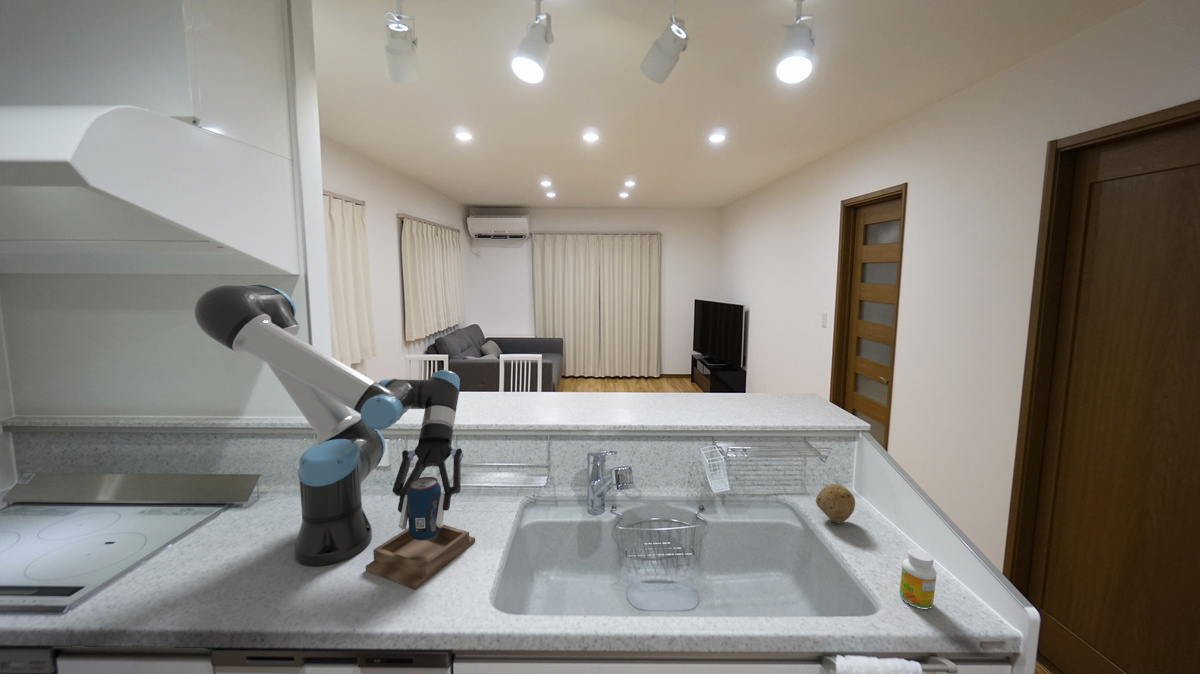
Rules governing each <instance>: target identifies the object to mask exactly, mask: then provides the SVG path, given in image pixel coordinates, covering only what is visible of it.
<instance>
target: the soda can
mask: <svg viewBox="0 0 1200 674" xmlns="http://www.w3.org/2000/svg"><path fill="white" fill-rule="evenodd" d="M441 493H442V487H441V485H440V483H439V482H438V479H437V478H436V477H435V476H434V477H433V476H422V477H419V478H418V479H415V480H413V481H412V482H411V483H410V487H409V489H408V491H407V501H408V521H407V522H408V528H409V533H410V535H411V536H412V537H413V538H414V539H415V540H418V541H425V540H429V539H432V538H434V537H436V536H437V535H438V534H439V532H440V530H441V528H438V526H437V525H436V520H437V514H438V507H439V500H440V495H441Z"/></svg>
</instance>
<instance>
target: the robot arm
mask: <svg viewBox="0 0 1200 674" xmlns="http://www.w3.org/2000/svg"><path fill="white" fill-rule="evenodd" d="M296 311H297V309H296V305H295V303H294V301H293V300H292V298H291V297H290V296H289V295H288V294H287V292H284V291H283V290H281V289H279V288H276V287H275V286H274V287H273V286H268V285H263V284H249V285H233V284H232V285H230V284H229V285H221V286H216V287H212V288H211V289H209V290H207V291H206V292H204V293H203V294H202V295H201V296H200V297H199V298H198V300H197V302H195V308H194V318H195V322H196V323H197V325H198V326H199V328H200V329H201V331H203V332H204V333H205V334H206V335H207V336H209V338H212V340H214V341H216V342H217V343H218V344H221V345H222V346H225V347H226V348H228V349H230V350H231V351H234V352H235V353H245V352H246V353H249V354H250V355H252V356H254V357H255V358H258V359H260V360H261V361H263V362H265V363H266V364H267V365H268V367H269V368H270V369H271V371H272V372H273V374H274V375H275V376H276V378H277V380H278V381H279V382H280V384H281V385H282V386H283V388H284V390H285V391H286V392H287V394H288V395H289V397H290V398H291V400H292V401H293V402H294V403H295V405H296V406H297V408H298V409H299V411H300V412H301V413H302V416H303V417H304V418H305V420H306V421H307V422H308V424H309V425H310V427H311V428H312V430H313V431H314V432H315V433H316V438H315V442H314V445H312V446H311V447H309V448H307V449H306V450H305V451H304V452H303V453H302V454H301V456H300V458H299V460H298V470H297V474H298V479H299V480H298V481H299V490H300V491H299V492H300V505H301V507H300V508H301V517H302V520H301V525H300V528H299V531H298V535H297V539H296V541H295V544H294V558H295V560H296V562H297V563H299V564H300V565H304V566H307V567H308V566H309V567H321V566H328V565H333V564H336V563H337V564H338V563H341V562H343V561H345V560H348V559H351V558H352V557H354V556H356V555H357V554H359V553H361V552H362V551H364V550H365V549H366V548H367V547H368V546H369V544H370V543H371V541H372V538H373V536H372V535H373V533H372V531H373V530H372V525H371V524H370V521H369V519H368V517H367V515H366V514H365V511H364V509H363V503H362V483H363V481H365V480H366V478H367V477H369V475H370V474H371V473H372V471H374V470H375V469H376V468H377V467H378V466H379V464H380V463H381V461H382V459H383V457H384V454H385V452H386V441H385V438H384V436H383V434H382V433H381V432H380V431H379V430H386V429H388V428H390V427H392V426H393V425H395V424H396V423H397V422H398V421H400V419H402V416H403V415H404V414H405V413H407V411H409V410H424V412H423V418H422V422H421V428H420V432H419V437H418V443H417V445H416V446H415V449H413V450H409V451H408V450H405V449H404V450H403V451H402V452H401V455H402V461H401V464H400V466H399V468H398V469H399V470H398V471H397V472H398V473H397V475H396V478H395V481H394V484H393V487H392V492H393V494H394V495H395V496H396V497H399V501H398V505H397V511H398V512H399V513H400V519H399V523H398V527H399V528H400V529H401V530H403V531H404V530H406V529H407V527H408V522H409V521H408V501H407V491H408V489H409V487H410V483H411V482H412V481H413V480H415V479H418V478H421V475H422V473H423V472H425V470H426V469H427V468H429V467H438V469H439V470H438V471H439V473H440V474H439V476H440V479H441V482H442V487H443V492H444V493H442V492H441V495H440V500H439V507H438V514H437V520H436V525H437V526H438V528H442V525H443V524H444V516H445V511H449V510H450V507H451V500H452V497H453V495H454V494H460V492H461V484H462V483H461V481H462V480H461V478H462V477H461V472H462V470H461V468H462V467H461V465H462V459H463V457H464V453H463V450H462V448H460V447H459V448H457V449H456V448H455V449H454V448H453V447H452V443H453V436H454V435H453V434H454V428H455V422H456V413H457V408H458V401H459V396H460V383H461V379H460V377H459V375H458V374H456V372H455V371H451V370H447V369H441V370H436V371H435V372H433V373H432V374H431V376H430V378H429V379H400V378H399V379H398V378H392V379H382V380H380V381H379V382H377V381H375V380H373V379H372V378H369V376H368V377H367V376H366V375H365V374H363V373H362V372H359V371H358V370H356V369H354V368H352V367H350V366H348V365H347V364H345V363H343V362H342V361H340V360H338V359H336V358H334V357H333V356H331V355H330V354H328V353H326V352H324V351H322V350H320V349H318V347H317V348H316V347H315V346H313V345H312V344H310V343H308V342H307V341H305V340H303V339H301V338H300V336H299V331H300V328H301V325H300V324H299V323H298V321H297V320H296V313H297V312H296ZM348 408H349V409H351V410H353V411H355V412H356V413H358V414H360V416H358V415H353V414H352V413H351V412H350V410H349V409H348ZM415 456H416V457H417V461H416V463H415V466H414V468H413V469H412V471H411V473H410V474H409V476H408V473H409V469H410V468H411V461H413V460H414V457H415ZM450 456H451V457H452V459H453V468H452V469H453V470H452V471H453V472H452V473H453V474H452V475H453V477H452V478H453V479H452V481H453V482H452V486H451V483H450V479H449V477H448V476H449V475H448V471H447V467H446V463H445V462H446V461H447V460H448V458H449V457H450ZM407 476H408V478H407ZM406 479H407V480H406Z"/></svg>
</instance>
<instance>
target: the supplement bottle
mask: <svg viewBox="0 0 1200 674" xmlns="http://www.w3.org/2000/svg"><path fill="white" fill-rule="evenodd" d="M933 566H934V556H932V554H930V553H928V552H927V551H925V550H922V549H918V548H910V549H908V551H907V558H906V559H904V560H903V561H902V565H901V576H900V582H899V583H900V584H899V592H898V593H899V597H900V596H901V597H900V599H901V598H902V599H903V600H904V601H906V602H908V603H909V604H911V605H913V606H916V607H920V608H930V607H932V608H933V606H934V599H935V591H936V581H937V571H936V569H935V568H934V567H933ZM903 600H902V601H903ZM904 601H903V602H904ZM906 602H905V603H906ZM909 604H908V605H909Z"/></svg>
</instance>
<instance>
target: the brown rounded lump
mask: <svg viewBox="0 0 1200 674" xmlns="http://www.w3.org/2000/svg"><path fill="white" fill-rule="evenodd" d="M815 503H816V505H817V507H818V509H819V510H821V511H822V512H823V513H824V514H825V515H826V516H827V518H828V519H829V520H830V521H832V522H833V521H834V522H833V523H835V522H837V523H836V524H840V523H841V524H842V523H843V522H845V521H847V520H848V519H849V518H850V517H851V515H852V514H853V513H854V510H855V508H856V499H855V497H854V495H853V494H852V492H851V490H849V489H848V488H846V487H845V486H843V485H841V484H838V483H831V484H827V485H825V486H824V487H823V488H822V489H821V490H820V491H819V493H818V494H817V495H816V497H815Z"/></svg>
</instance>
